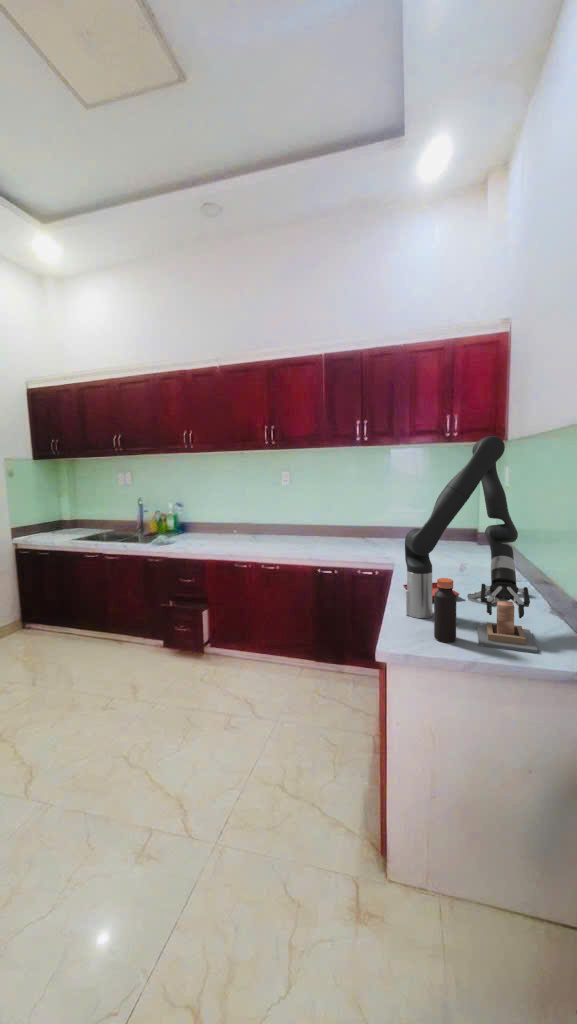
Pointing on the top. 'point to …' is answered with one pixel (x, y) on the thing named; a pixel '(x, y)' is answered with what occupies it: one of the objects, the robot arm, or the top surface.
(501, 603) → the terracotta post
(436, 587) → the plant saucer
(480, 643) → the socket dock
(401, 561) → the top surface
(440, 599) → the bottle
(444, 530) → the robot arm
